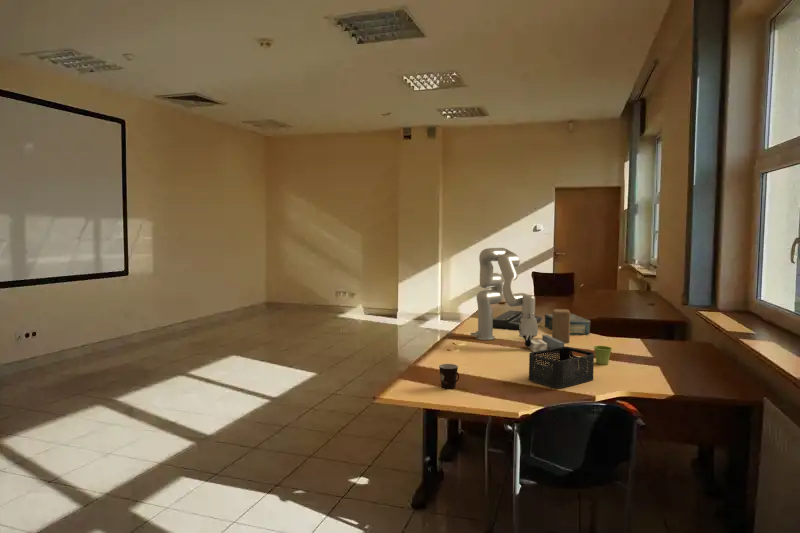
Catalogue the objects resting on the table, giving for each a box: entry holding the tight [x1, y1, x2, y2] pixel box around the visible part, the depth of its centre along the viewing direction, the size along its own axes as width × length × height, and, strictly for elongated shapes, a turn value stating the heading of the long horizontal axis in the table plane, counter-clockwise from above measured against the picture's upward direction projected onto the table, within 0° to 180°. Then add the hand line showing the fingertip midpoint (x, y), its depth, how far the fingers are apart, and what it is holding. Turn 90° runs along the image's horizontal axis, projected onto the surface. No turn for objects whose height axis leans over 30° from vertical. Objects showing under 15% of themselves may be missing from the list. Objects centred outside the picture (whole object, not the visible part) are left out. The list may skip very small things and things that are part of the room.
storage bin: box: [528, 346, 595, 389], centre depth 262 cm, size 29×19×13 cm
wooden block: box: [551, 308, 571, 344], centre depth 345 cm, size 10×10×20 cm
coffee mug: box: [438, 363, 460, 390], centre depth 249 cm, size 12×9×10 cm
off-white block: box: [527, 338, 548, 352], centre depth 324 cm, size 8×12×5 cm, turn 2°
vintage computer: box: [493, 309, 543, 332], centre depth 401 cm, size 43×29×8 cm
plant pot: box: [593, 345, 613, 366], centre depth 292 cm, size 9×9×9 cm
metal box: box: [544, 312, 591, 336], centre depth 379 cm, size 21×32×10 cm, turn 6°
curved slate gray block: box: [541, 334, 565, 353], centre depth 326 cm, size 3×22×6 cm, turn 11°
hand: (527, 346), depth 323 cm, fingers closed
